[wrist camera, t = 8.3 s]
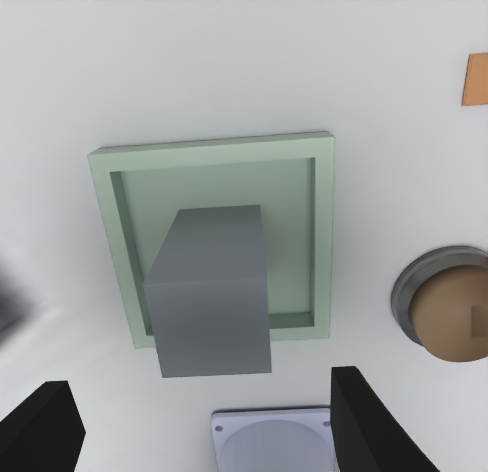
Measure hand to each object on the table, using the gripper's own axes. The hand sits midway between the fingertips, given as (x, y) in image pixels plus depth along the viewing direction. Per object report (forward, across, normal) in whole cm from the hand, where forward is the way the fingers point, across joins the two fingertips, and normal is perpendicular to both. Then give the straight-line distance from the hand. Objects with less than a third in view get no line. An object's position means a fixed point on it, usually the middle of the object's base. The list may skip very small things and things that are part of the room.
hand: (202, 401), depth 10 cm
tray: (+10, 0, 0) cm, 10 cm away
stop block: (+10, 0, 0) cm, 10 cm away
